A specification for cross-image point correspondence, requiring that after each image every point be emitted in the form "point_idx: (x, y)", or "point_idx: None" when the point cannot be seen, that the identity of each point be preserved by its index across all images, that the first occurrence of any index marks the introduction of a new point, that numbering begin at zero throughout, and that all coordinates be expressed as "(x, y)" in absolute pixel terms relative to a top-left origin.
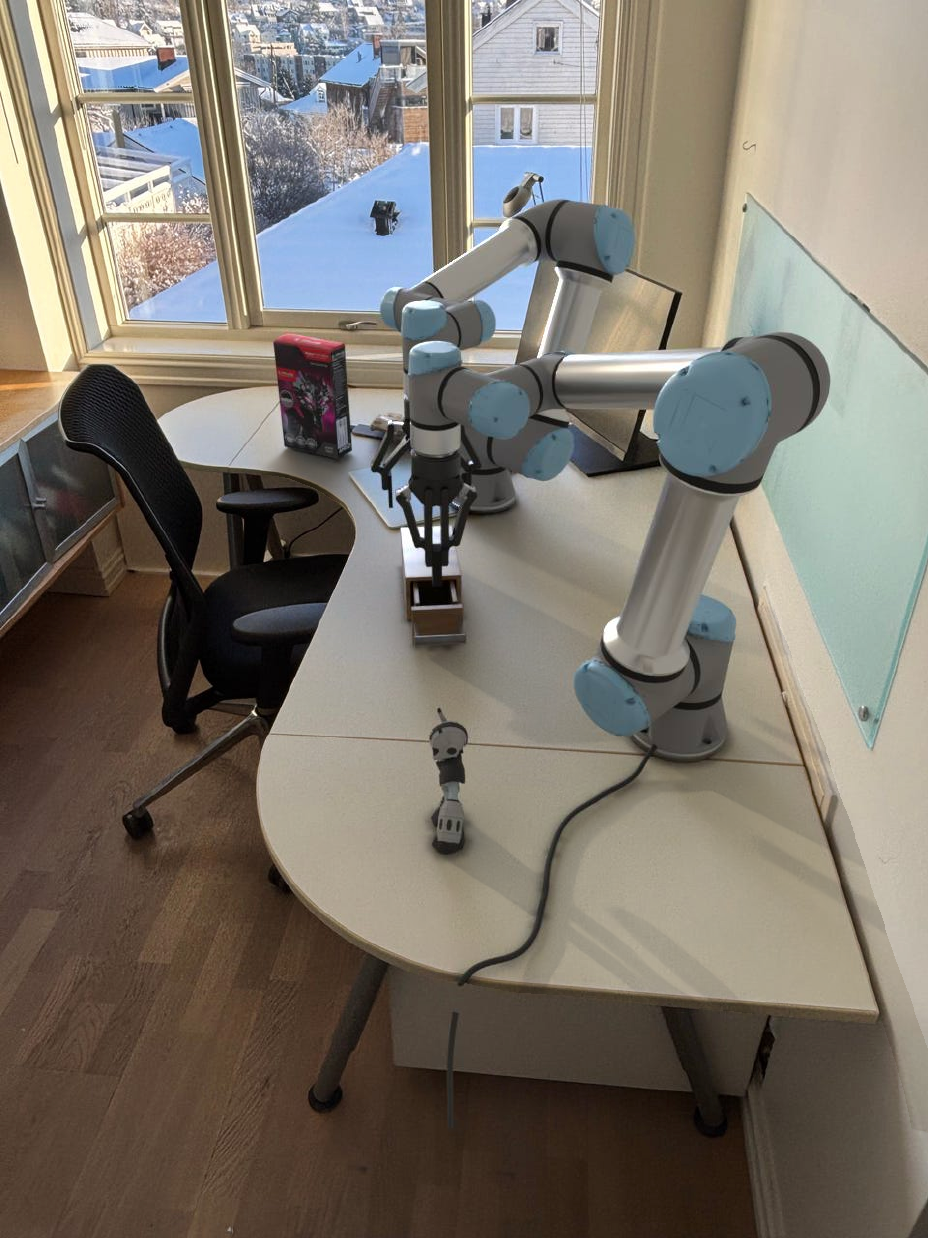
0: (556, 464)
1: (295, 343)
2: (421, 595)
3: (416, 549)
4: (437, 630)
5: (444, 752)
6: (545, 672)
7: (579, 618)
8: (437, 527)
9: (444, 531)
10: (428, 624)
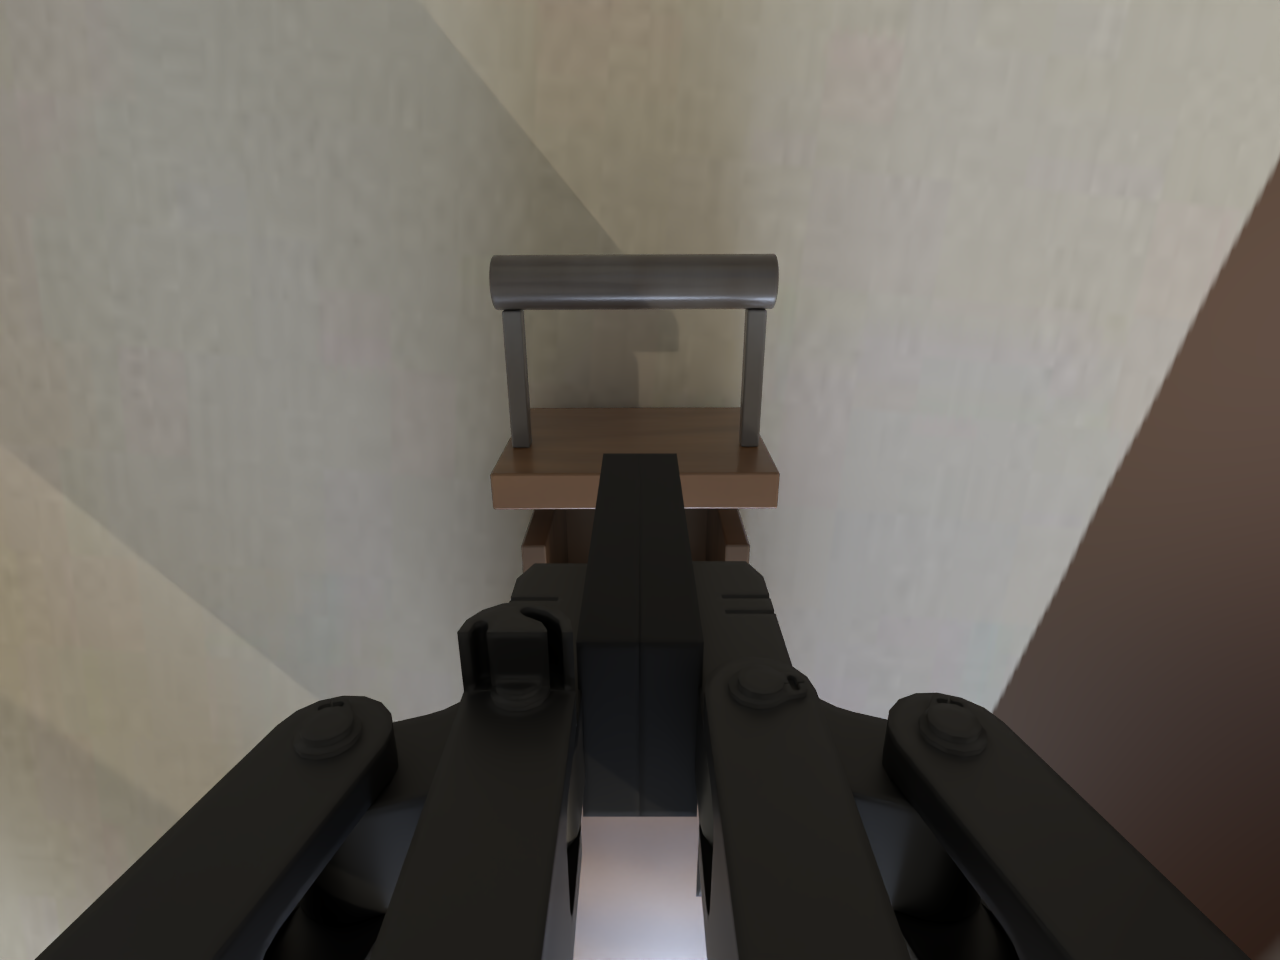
0: None
1: None
2: None
3: (700, 938)
4: (636, 429)
5: None
6: (153, 174)
7: (42, 555)
8: None
9: (471, 955)
10: (681, 441)
